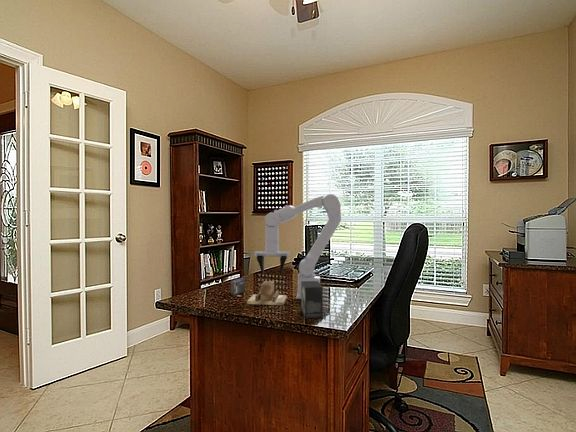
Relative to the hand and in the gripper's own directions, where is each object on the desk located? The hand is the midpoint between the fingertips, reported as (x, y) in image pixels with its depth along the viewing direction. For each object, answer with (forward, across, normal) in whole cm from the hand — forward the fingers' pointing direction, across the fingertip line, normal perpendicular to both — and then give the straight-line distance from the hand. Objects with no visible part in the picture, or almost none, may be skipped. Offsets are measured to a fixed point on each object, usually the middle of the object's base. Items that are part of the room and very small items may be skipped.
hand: (271, 274), depth 144 cm
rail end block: (+8, -1, -7) cm, 11 cm away
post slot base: (+9, -1, -7) cm, 12 cm away
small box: (+10, +17, -24) cm, 31 cm away
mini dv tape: (+10, -15, +5) cm, 19 cm away
